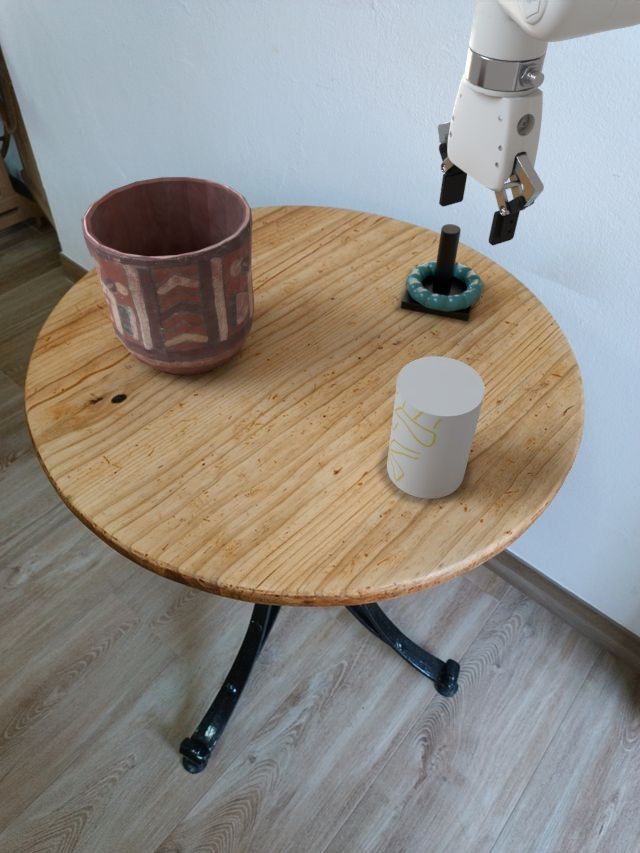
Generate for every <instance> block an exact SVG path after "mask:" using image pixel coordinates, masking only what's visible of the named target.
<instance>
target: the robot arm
mask: <svg viewBox="0 0 640 853" xmlns="http://www.w3.org/2000/svg"><path fill="white" fill-rule="evenodd" d="M638 25H640V0H475V2H474V9H473V16H472V23H471V30H470V36H469V43H468V44H469V45H468V50H467V55H466V56H467V57H466V63H465V70H464V73H463V75H462V77H461V80H460V82H459V87H458V90H457V94H456V97H455V101H454V105H453V109H452V110H453V111H452V114H451V119H450V121H448V122H443V123H439V124H438V125H437V135H438V142H439V145H438V152H439V155H440V158H441V161H442V162H441V163H440V171H441V172H442V173H443V174H442V180H441V186H440V192H439V193H440V194H439V201H438V204H439V205H440V206H441V207H447V206H448V207H449V206H451V205H454V204H457V203H462V202H463V200H464V197H465V190H466V186H467V185H466V184H467V180H468V176H469V177H471V178H472V179H474V180H476V181H477V182H478V183H480V184H481V185H483V186H484V187H485V188H487V189H489V190H491V191H492V192H494V195H495V199H496V203H497V207H498V210H496V211H494V213H493V217H492V222H491V226H490V231H489V236H488V243H489V244H490V245H491V246H496V245H499V244H503V243H505V242H509V241H512V240H513V239H514V237H515V234H516V229H517V225H518V220H519V216H520V213H521V211H524V210H526V208H527V209H528V208H529V207H531V206H533V204H535V200H537V199H538V197H539V196H540V195H541V194H542V193H543V191H544V189H545V186H544V183H543V182H542V180H541V178H540V177H539V175H538V173H537V171H536V170H535V166H536V159H537V155H538V149H539V143H540V137H541V129H542V119H543V104H544V103H543V102H544V99H543V98H544V97H543V95H544V94H543V91H542V90H541V89H540V87H541V86H542V85H543V83H544V81H545V74H544V73H543V68H544V63H545V59H546V54H547V51H548V46H549V43H558V42H562V41H568V40H573V39H578V38H582V37H587V36H588V37H589V36H590V35H595V34H600V33H604V32H610V31H614V30H619V29H625V28H630V27H634V26H638ZM507 190H510V191H511V195H512V199H511V200H509V197H508V195H507Z"/></svg>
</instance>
